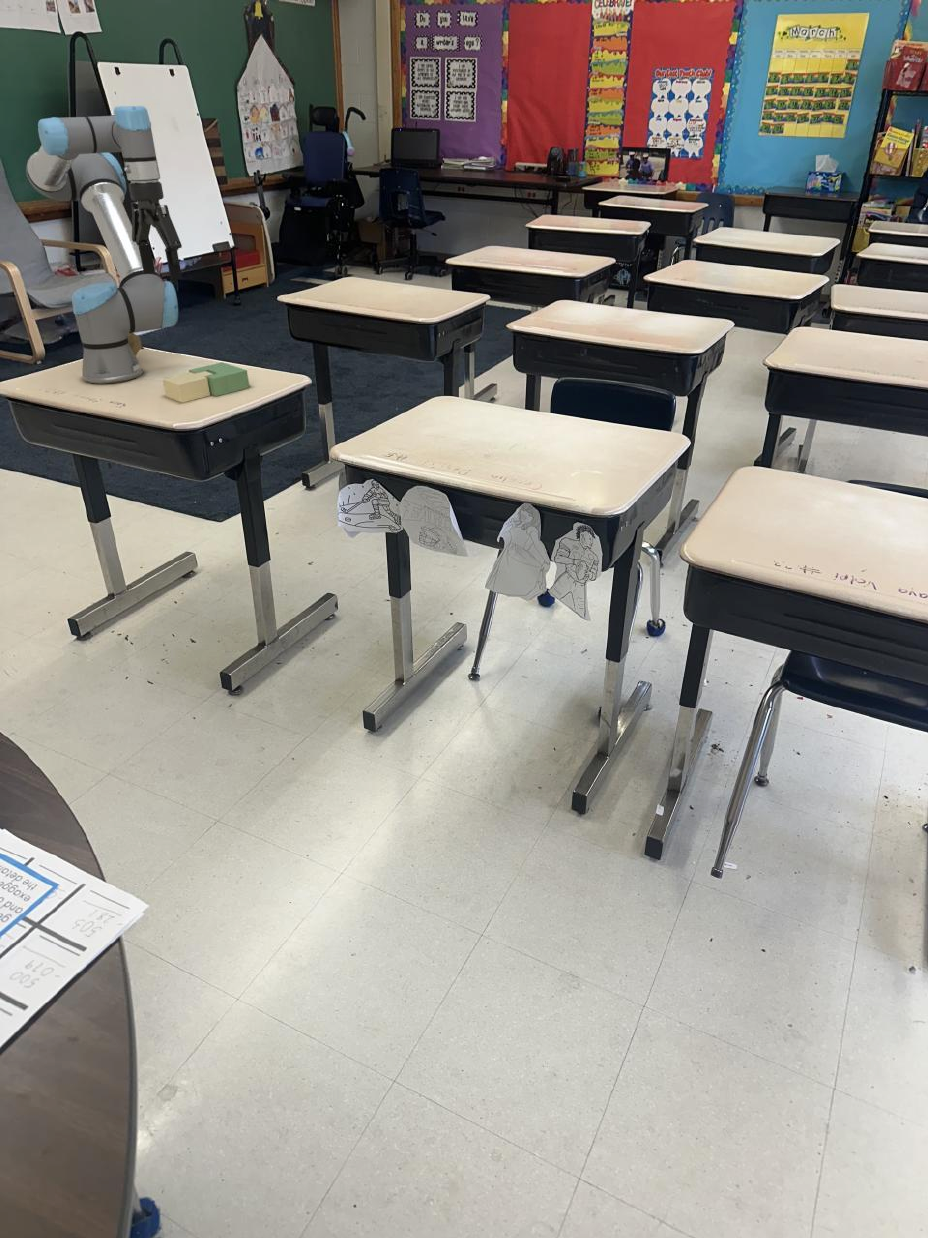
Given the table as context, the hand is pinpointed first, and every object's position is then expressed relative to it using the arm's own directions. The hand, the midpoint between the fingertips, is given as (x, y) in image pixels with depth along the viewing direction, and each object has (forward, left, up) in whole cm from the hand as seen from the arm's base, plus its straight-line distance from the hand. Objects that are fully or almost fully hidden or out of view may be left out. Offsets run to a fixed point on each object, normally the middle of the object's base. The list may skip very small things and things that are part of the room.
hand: (162, 276), depth 215 cm
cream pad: (+12, -4, -27) cm, 30 cm away
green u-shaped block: (+12, +4, -27) cm, 30 cm away
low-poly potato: (-34, 0, -27) cm, 43 cm away
